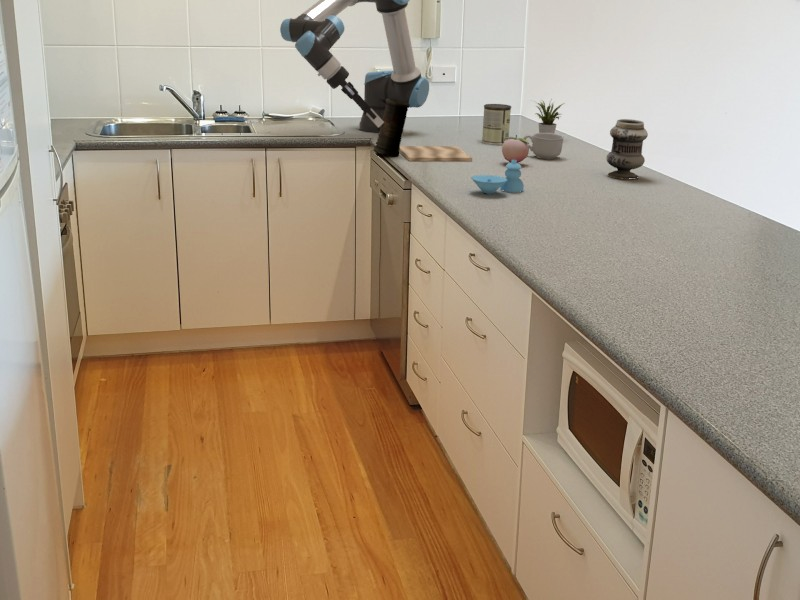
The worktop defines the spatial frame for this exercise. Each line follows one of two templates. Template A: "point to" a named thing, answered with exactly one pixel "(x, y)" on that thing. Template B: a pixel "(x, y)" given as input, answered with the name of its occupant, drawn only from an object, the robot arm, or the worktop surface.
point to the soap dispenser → (501, 180)
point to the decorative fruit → (515, 149)
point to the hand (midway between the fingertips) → (381, 124)
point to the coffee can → (496, 123)
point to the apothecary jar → (626, 147)
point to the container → (392, 127)
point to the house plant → (548, 118)
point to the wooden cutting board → (434, 153)
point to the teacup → (546, 145)
